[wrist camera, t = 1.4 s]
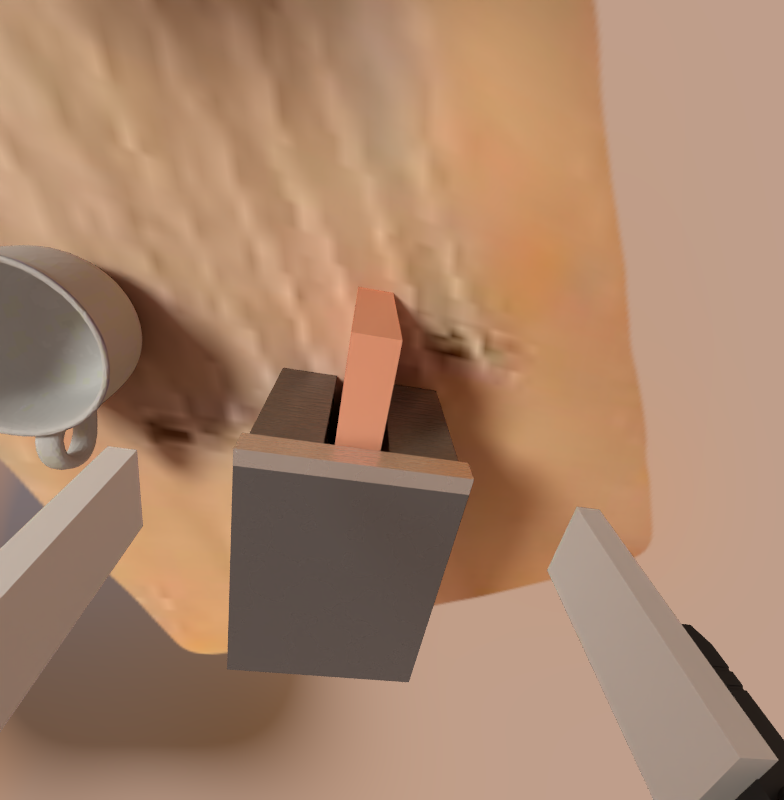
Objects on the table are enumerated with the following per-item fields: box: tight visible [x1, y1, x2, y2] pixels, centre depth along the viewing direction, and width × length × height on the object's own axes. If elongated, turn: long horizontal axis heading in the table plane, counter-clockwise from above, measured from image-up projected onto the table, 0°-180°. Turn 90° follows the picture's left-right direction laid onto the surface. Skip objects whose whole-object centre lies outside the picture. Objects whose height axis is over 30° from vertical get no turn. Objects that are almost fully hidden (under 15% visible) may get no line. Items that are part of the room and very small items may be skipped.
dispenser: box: [227, 368, 474, 682], centre depth 31 cm, size 17×12×13 cm
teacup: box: [0, 245, 142, 470], centre depth 27 cm, size 14×11×8 cm
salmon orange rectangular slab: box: [335, 287, 403, 451], centre depth 28 cm, size 12×2×11 cm, turn 170°
